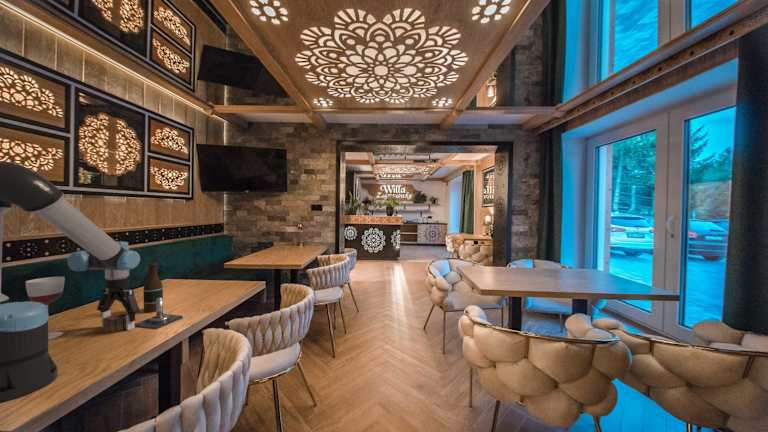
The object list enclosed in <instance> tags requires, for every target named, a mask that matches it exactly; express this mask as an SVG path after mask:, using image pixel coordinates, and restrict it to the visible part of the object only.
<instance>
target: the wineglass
mask: <svg viewBox="0 0 768 432" xmlns="http://www.w3.org/2000/svg"><path fill="white" fill-rule="evenodd" d="M65 280H66V279H65V276H50V277H41V278H35V279H30V280H25V290H26V294H27V297H28V299H29V301H30V302H39V303H42V304H44V305H45V306H46V307H47V311H48V312H49V304H51V303H52V302H56V301H57V300H58V299H59V298H61V296H62V295H63V293H64V288H65ZM63 334H64V332H62V331H55V332H54V331H53V332H49V329H48V340H51V339H54V338H57V337H59V336H62V335H63Z"/></svg>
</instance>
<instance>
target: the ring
mask: <svg viewBox="0 0 768 432" xmlns="http://www.w3.org/2000/svg"><path fill="white" fill-rule="evenodd" d="M127 314H128V313H127V312H122V313H116V314H111V316H108V317H106V318H104V319H103V329H102V330H103V333H107V334H111V333H118V332H121V331H125V330H126V331H127V329H126V315H127Z"/></svg>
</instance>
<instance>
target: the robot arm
mask: <svg viewBox="0 0 768 432" xmlns="http://www.w3.org/2000/svg"><path fill="white" fill-rule="evenodd" d="M13 206H16V207H18V208H20V209H21V210H22V211H25V213H30V214H31V213H33V214H36V215H37V216H39V217H40V218H41V219H43V220H44V221H45V222H47V223H48V224H50V225H51V226H52V227H54V228H55V229H56V230H57V231H59V232H60V233H62V234H64V235H65V236H66V237H67V238H68V239H70V240H71V241H73V242H74V243H76V244H77V245H78V246H80V247H82V248H83V249H84V250H79V251H74V252H72V253H70V255H68V257H67V266H68V269H70V270H72V271H73V272H84V271H85V272H86V271H88V270H104V278H105V281H104V282H105V283H104V284H105V286H104V287H105V288H104V289H102V290H101V295H100V298H99V301H98V304H97V307H96V310H97V311H100V313H101V322H102V323H101V324H102V325H101V327H102V328H103V319H104V318H106V317H108V316H111V315H112V313H111V307H112V305H113V304H114V302H115V301H118V302H119V303H121V305H122V306H123V309H124V310H125V312H126V313H128V314H127V315H126V331H130V330H132V329H135V328H136V326H135V324H136V322H135V321H136V313H138V312H140V310H141V309H140V307H139V305H138V302H137V299H136V296H135V291H134V289H132V288H131V289H128V287H129V286H130V277H129V276H130V271H131V270H133V269H135V268H137V266H138V265H139V264H140V262H141V256H140V254H139V253H138V252H137V251H135V250H130V247H129V242H128V241H115V239H114V238H112V237H111V236H109V235H108V234H107V233H106V232H105V231H104V230H102V229H101V228H100V227H99V226H98V225H96V224H95V223H94V222H93V221H92V220H91V219H89V218H88V217H87V216H86V215H85V214H83V213H82V212H81V211H80V210H78V209H77V208H76V207H75V206H74V205H72V204H71V203H70V202H69V201H68V200H67V199H65V198H64V192H63V191H62V190H60V189H59V188H58V187H57V186H56V185H55V184H54V183H52V182H51V181H49V180H48V179H47V178H46V177H44V176H42V175H41V174H39V173H38V172H36V171H34V170H32V169H31V168H29V167H27V166H24V165H21V164H19V163H15V162H13V161H6V160H0V403H1V402H2V403H3V402H7V401H10V400H14V399H17V398H20V397H23V396H26V395H28V394H29V395H30V394H31V393H34V392H36V391H38V390H40V389H42V388H44V387H47V386H48V385H49V384H51V383H53V382H54V381H55V380H56V379H58V377H59V373H58V372H59V370H58V369H59V368H58V366H57V364H56V363H55V361H54V359H53V358H52V356H51V354H50V353H49V339H48V330H49V320H50V319H49V318H50V316H49V310H48V311H47V307H46V306H45V305H44V304H42V303H39V302H32V301H31V300H29V301H14V302H12V301H11V302H10V297H9V296H7V295H5V294H4V293H2V271H3V270H2V268H3V267H2V266H3V265H2V263H3V262H2V261H3V237H4V235H3V233H4V232H3V231H4V214H5V213H7V212H10V211H11V210H12V207H13Z"/></svg>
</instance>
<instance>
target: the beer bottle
mask: <svg viewBox="0 0 768 432" xmlns="http://www.w3.org/2000/svg"><path fill="white" fill-rule="evenodd" d="M147 265H148V272H147V273H148V274H147V275H148V277H147V279H146V281H145V282H144V285H143V311H144V312H145V313H146V314H148V313H156V300H157V298H160V297H161V298H163V297H164V296H163V295H164V290H163V289H164V288H163V287H164V286H163V283H162V281H161V279H159V275H158V263H157V262H149V263H148V264H147Z"/></svg>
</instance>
